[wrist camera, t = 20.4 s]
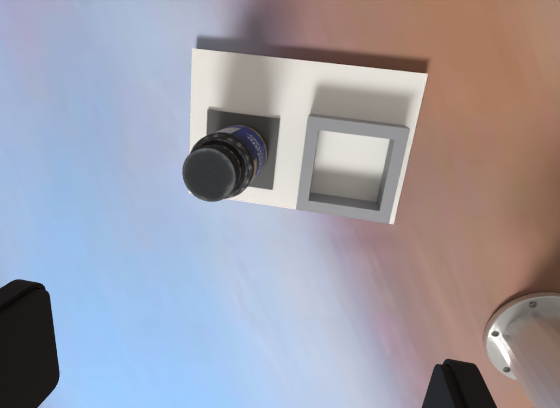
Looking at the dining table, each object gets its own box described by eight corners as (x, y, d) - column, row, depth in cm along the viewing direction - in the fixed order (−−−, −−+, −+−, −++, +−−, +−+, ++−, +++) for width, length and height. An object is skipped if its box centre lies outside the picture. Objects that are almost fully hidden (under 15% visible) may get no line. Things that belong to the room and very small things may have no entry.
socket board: (424, 73, 37) (435, 73, 33) (392, 220, 42) (397, 234, 38) (196, 49, 39) (180, 45, 35) (192, 190, 45) (178, 201, 41)
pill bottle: (274, 172, 41) (253, 204, 31) (223, 183, 42) (187, 216, 32) (260, 117, 39) (232, 131, 29) (208, 130, 41) (163, 147, 30)
